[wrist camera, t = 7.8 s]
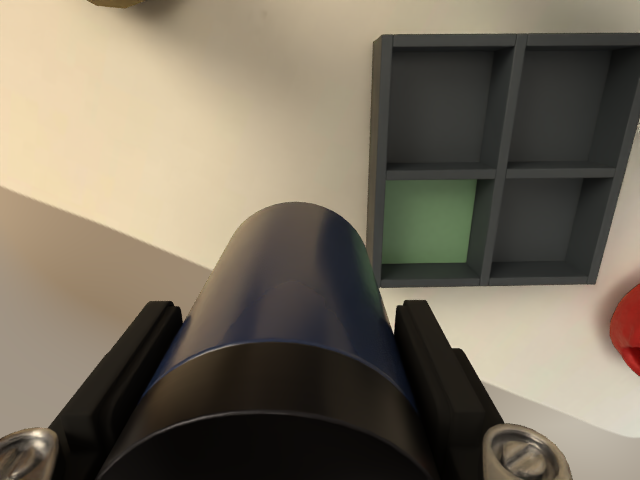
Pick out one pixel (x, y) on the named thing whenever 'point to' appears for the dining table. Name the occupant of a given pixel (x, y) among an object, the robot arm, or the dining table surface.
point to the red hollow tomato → (628, 329)
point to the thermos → (280, 368)
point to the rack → (497, 156)
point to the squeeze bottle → (116, 3)
